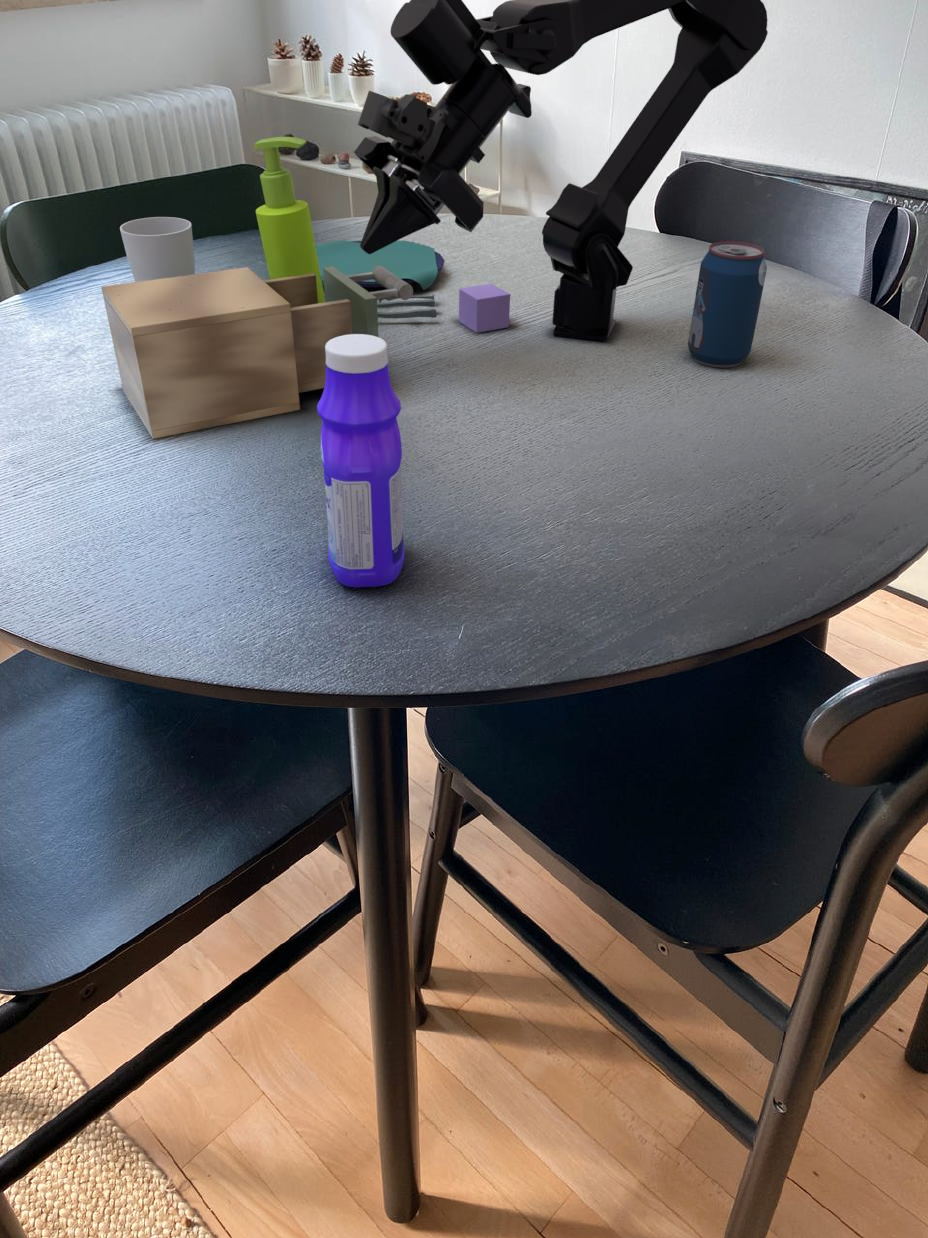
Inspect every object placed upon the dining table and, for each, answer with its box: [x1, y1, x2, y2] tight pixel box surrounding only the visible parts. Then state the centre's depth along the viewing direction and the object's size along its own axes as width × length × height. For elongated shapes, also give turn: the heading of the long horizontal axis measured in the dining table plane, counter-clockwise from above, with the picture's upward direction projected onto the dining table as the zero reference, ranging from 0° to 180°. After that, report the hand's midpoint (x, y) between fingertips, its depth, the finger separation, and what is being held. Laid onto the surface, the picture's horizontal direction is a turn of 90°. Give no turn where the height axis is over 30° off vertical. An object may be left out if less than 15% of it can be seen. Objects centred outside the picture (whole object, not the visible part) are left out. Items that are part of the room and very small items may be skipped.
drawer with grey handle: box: [262, 266, 414, 393], centre depth 98 cm, size 18×11×9 cm, turn 118°
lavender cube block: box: [458, 283, 511, 334], centre depth 114 cm, size 4×4×4 cm
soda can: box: [687, 240, 768, 369], centre depth 104 cm, size 7×7×12 cm
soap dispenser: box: [253, 136, 325, 304], centre depth 108 cm, size 6×7×20 cm
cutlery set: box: [315, 239, 446, 319], centre depth 125 cm, size 20×30×2 cm, turn 4°
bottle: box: [316, 334, 405, 588], centre depth 67 cm, size 7×6×17 cm
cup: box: [119, 216, 196, 282], centre depth 114 cm, size 8×8×10 cm
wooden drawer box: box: [101, 266, 301, 440], centre depth 93 cm, size 15×13×11 cm
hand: (364, 250), depth 95 cm, fingers closed
